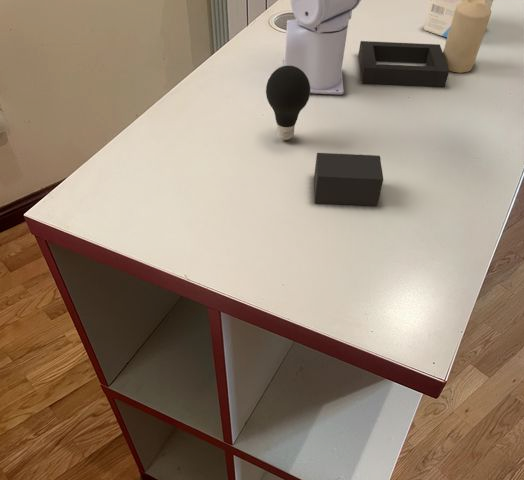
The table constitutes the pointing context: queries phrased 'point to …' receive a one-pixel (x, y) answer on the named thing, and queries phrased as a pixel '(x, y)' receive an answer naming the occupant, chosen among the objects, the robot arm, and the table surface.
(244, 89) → the table surface
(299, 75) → the light bulb
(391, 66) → the socket pad
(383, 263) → the table surface
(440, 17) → the ink box
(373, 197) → the small block
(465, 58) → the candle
